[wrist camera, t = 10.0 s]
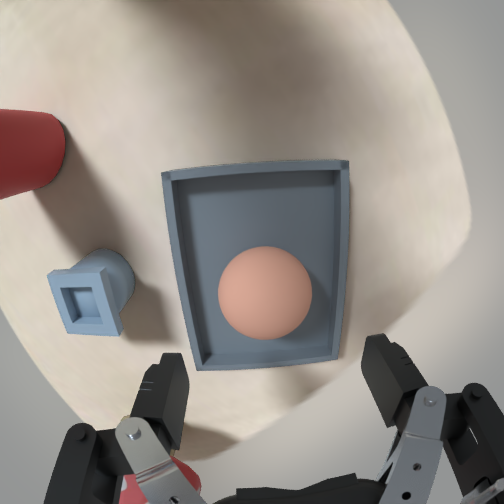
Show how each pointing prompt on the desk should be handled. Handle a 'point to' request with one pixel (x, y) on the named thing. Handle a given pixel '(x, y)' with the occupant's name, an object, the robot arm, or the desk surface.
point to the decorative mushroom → (131, 494)
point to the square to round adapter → (93, 293)
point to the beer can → (28, 150)
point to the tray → (256, 235)
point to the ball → (265, 293)
